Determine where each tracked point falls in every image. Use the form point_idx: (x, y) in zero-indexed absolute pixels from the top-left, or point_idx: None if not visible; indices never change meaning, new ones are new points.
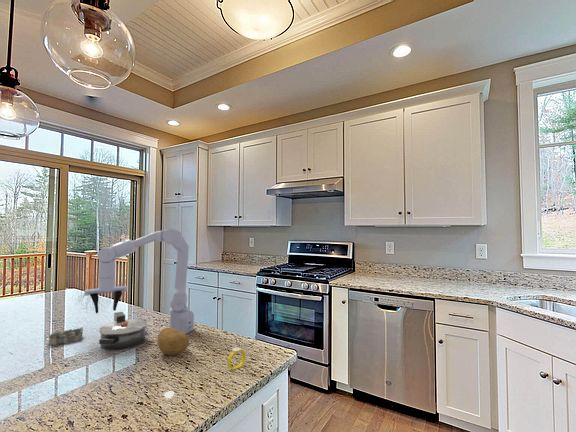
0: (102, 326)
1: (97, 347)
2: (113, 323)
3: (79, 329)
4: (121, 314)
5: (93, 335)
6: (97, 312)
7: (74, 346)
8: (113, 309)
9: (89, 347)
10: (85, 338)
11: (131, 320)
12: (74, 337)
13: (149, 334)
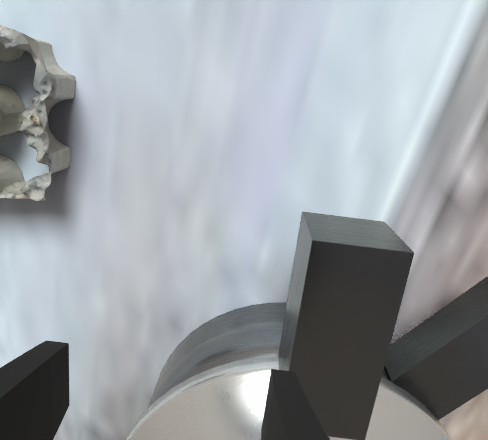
0: (140, 438)
1: (138, 395)
2: (236, 420)
3: (23, 46)
4: (349, 378)
5: (152, 128)
6: (57, 411)
7: (22, 286)
8: (265, 406)
9: (99, 364)
10: (93, 163)
11: (394, 438)
12: (3, 175)
13: None
